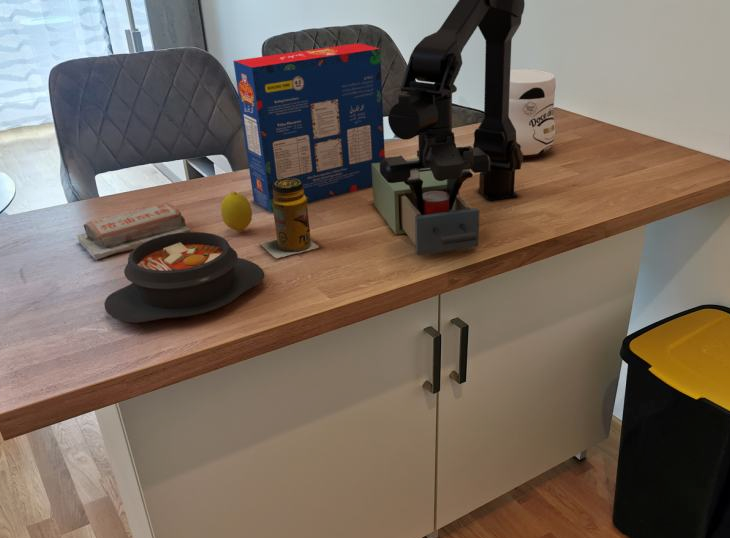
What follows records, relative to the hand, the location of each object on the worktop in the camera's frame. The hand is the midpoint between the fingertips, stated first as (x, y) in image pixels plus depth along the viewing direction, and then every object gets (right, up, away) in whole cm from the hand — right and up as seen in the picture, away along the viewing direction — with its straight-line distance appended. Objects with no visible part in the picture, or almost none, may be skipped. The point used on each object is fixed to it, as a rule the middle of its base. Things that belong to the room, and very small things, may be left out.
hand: (435, 211), depth 131 cm
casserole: (-40, -17, -15) cm, 46 cm away
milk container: (+21, +23, +47) cm, 57 cm away
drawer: (+1, -5, +1) cm, 5 cm away
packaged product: (-56, -5, +5) cm, 57 cm away
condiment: (-27, -6, +1) cm, 27 cm away
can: (0, -2, +1) cm, 2 cm away
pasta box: (-24, +9, +25) cm, 36 cm away
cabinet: (-4, +2, +14) cm, 14 cm away
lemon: (-37, -3, +7) cm, 38 cm away
